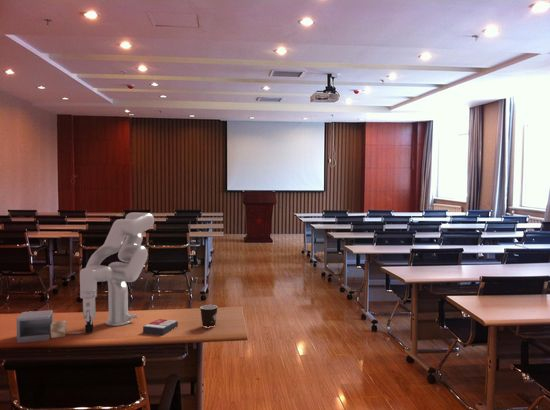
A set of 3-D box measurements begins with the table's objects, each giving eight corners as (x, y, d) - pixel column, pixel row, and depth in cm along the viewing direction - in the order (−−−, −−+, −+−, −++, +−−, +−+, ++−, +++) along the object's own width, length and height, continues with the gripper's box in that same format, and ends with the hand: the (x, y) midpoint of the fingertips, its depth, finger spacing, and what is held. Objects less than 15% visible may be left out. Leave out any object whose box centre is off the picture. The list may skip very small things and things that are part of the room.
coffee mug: (206, 330, 230) (206, 310, 230) (197, 326, 237) (197, 306, 237) (225, 325, 238) (225, 306, 238) (216, 321, 245) (216, 303, 244)
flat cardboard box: (178, 320, 236) (162, 327, 222) (178, 328, 236) (162, 336, 222) (159, 318, 240) (142, 325, 225) (159, 326, 240) (142, 333, 225)
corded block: (93, 330, 229) (92, 316, 229) (91, 334, 223) (91, 320, 223) (52, 333, 224) (52, 319, 224) (50, 337, 218) (50, 323, 218)
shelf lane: (52, 332, 226) (52, 310, 226) (48, 340, 215) (48, 316, 214) (22, 335, 222) (22, 312, 222) (16, 342, 211) (16, 318, 211)
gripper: (95, 297, 218) (96, 336, 219) (98, 289, 234) (98, 325, 235) (78, 298, 216) (79, 337, 217) (81, 290, 231) (82, 327, 232)
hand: (89, 331), depth 226 cm, fingers closed on corded block, 3 cm apart
